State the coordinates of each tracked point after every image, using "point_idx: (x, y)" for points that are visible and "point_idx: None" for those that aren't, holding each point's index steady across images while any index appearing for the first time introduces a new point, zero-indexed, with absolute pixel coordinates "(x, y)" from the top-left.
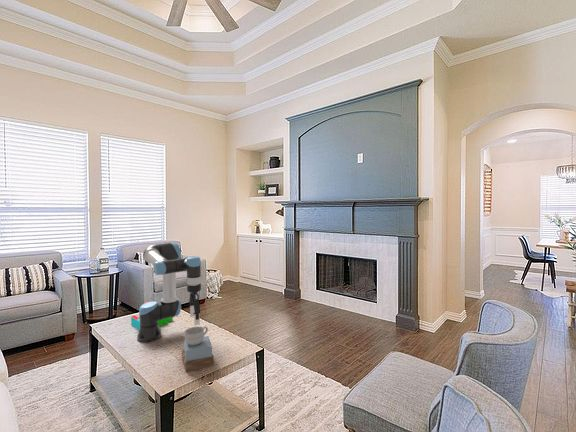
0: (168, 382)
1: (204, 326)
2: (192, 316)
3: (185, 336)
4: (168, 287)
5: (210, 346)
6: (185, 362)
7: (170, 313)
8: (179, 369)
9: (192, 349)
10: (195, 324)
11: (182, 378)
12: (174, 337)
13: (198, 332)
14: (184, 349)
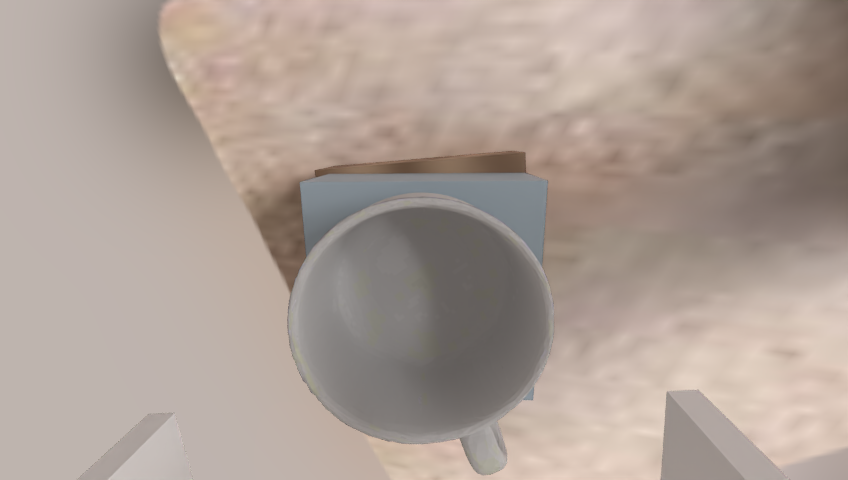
0: (254, 53)
1: (491, 459)
2: (668, 435)
3: (379, 202)
4: None
5: None
6: (330, 168)
7: None
8: (387, 127)
9: (305, 241)
10: (138, 438)
11: (273, 140)
12: None
13: (303, 373)
14: (496, 174)
